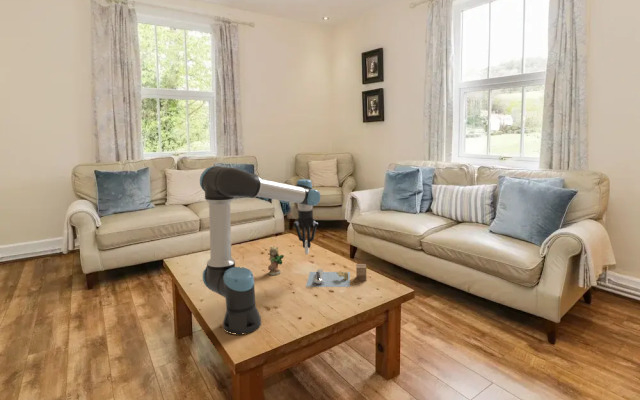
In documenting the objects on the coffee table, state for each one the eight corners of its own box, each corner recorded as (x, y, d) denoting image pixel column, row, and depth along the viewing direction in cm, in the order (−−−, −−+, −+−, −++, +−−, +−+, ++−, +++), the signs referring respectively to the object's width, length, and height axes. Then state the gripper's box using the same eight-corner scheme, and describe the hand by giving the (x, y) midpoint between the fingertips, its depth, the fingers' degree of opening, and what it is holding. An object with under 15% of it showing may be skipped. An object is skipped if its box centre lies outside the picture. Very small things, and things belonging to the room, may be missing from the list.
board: (349, 288, 184) (349, 275, 182) (305, 288, 186) (305, 274, 184) (349, 273, 202) (349, 261, 201) (310, 273, 204) (309, 261, 203)
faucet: (322, 284, 186) (322, 280, 186) (313, 284, 187) (313, 280, 186) (324, 272, 201) (324, 269, 201) (316, 272, 202) (316, 269, 201)
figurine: (265, 274, 205) (263, 248, 202) (273, 269, 211) (271, 244, 208) (279, 277, 200) (277, 250, 198) (286, 272, 207) (285, 246, 204)
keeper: (349, 282, 191) (349, 273, 190) (339, 283, 190) (339, 275, 189) (346, 278, 196) (345, 270, 195) (336, 280, 194) (336, 271, 193)
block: (366, 282, 190) (366, 267, 189) (356, 282, 191) (356, 267, 189) (366, 278, 195) (365, 264, 194) (356, 278, 196) (356, 264, 194)
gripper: (291, 211, 187) (293, 255, 192) (316, 211, 185) (317, 256, 189) (294, 207, 194) (296, 250, 199) (319, 208, 192) (320, 251, 197)
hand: (307, 253), depth 194 cm, fingers closed
